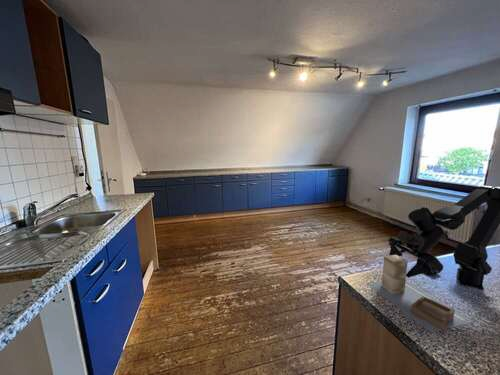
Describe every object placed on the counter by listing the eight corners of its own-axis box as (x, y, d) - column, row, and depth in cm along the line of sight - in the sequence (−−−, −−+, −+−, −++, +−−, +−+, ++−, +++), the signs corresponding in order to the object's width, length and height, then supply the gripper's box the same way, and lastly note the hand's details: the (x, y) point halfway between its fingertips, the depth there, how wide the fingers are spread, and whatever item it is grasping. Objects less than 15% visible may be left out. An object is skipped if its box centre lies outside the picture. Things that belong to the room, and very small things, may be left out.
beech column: (393, 284, 84) (396, 254, 83) (404, 292, 80) (407, 261, 78) (381, 285, 84) (384, 255, 82) (391, 293, 79) (394, 262, 77)
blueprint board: (401, 280, 89) (401, 277, 89) (473, 324, 66) (474, 321, 66) (367, 286, 85) (367, 283, 85) (431, 335, 62) (431, 332, 62)
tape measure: (441, 275, 92) (442, 266, 92) (430, 278, 90) (431, 269, 90) (424, 267, 99) (425, 259, 98) (413, 269, 97) (414, 261, 96)
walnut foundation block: (422, 303, 74) (423, 295, 73) (453, 318, 67) (454, 310, 67) (410, 312, 70) (411, 304, 69) (442, 329, 63) (444, 321, 62)
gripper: (394, 217, 88) (366, 245, 88) (440, 233, 70) (404, 269, 70) (409, 235, 90) (382, 262, 90) (458, 255, 72) (424, 290, 72)
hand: (396, 269), depth 81 cm, fingers open, 9 cm apart
